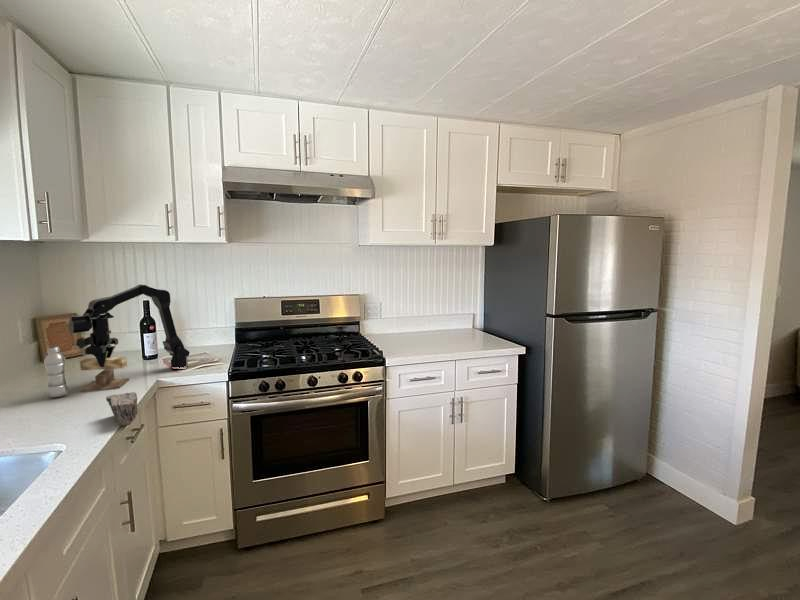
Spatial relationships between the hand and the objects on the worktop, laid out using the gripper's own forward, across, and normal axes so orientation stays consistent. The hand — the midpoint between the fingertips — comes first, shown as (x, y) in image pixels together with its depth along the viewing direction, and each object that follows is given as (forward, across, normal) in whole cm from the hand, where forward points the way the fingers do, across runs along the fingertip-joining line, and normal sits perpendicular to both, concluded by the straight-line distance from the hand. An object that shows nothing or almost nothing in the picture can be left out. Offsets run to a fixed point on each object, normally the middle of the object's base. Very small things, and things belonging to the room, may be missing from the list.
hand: (104, 365), depth 179 cm
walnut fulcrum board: (+9, 0, 0) cm, 9 cm away
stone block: (+9, +42, +19) cm, 47 cm away
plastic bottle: (+9, +10, -13) cm, 19 cm away
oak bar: (+1, 0, 0) cm, 1 cm away
